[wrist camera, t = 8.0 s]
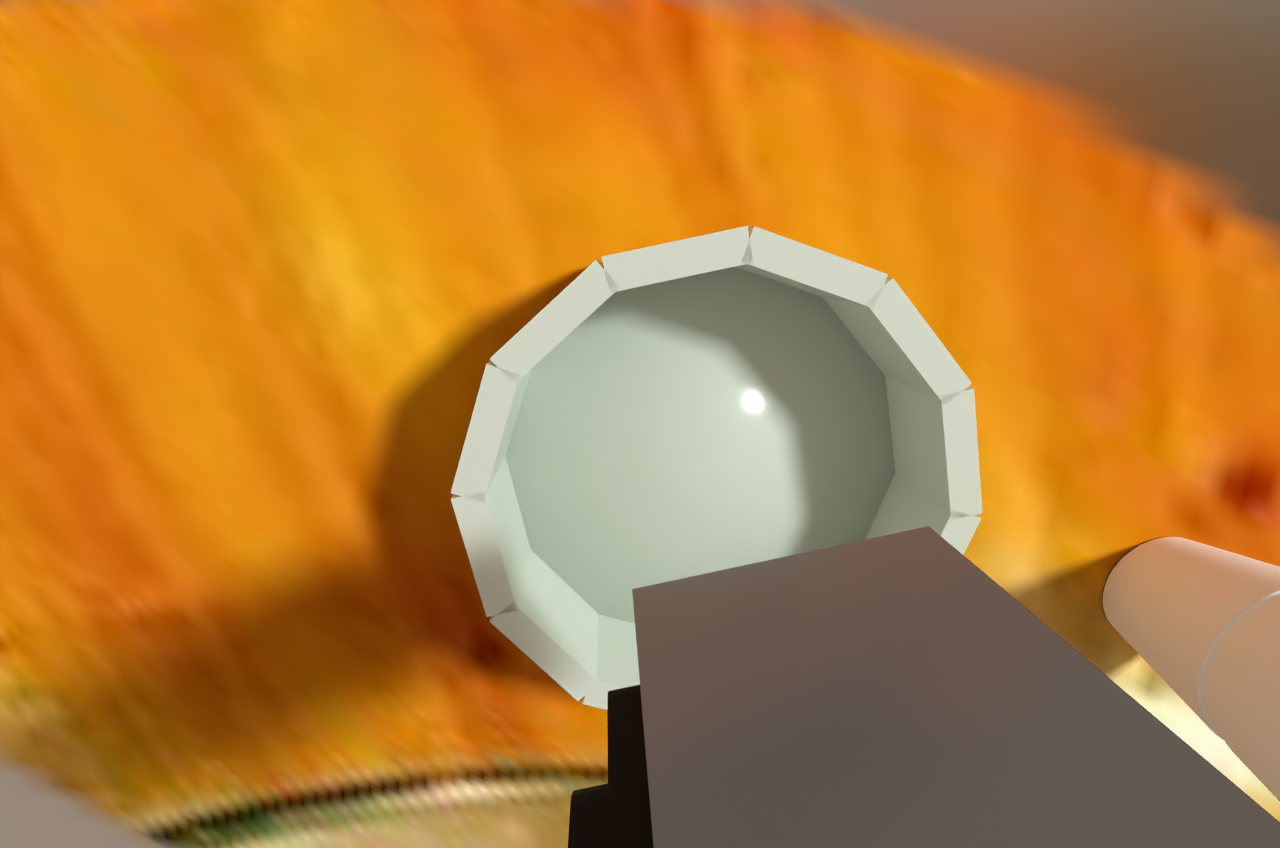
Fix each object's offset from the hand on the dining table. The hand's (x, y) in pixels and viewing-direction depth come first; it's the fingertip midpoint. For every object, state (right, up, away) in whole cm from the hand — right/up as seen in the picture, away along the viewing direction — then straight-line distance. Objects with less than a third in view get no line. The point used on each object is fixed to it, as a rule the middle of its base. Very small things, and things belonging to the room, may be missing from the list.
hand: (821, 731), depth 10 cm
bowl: (-1, +4, +14) cm, 15 cm away
